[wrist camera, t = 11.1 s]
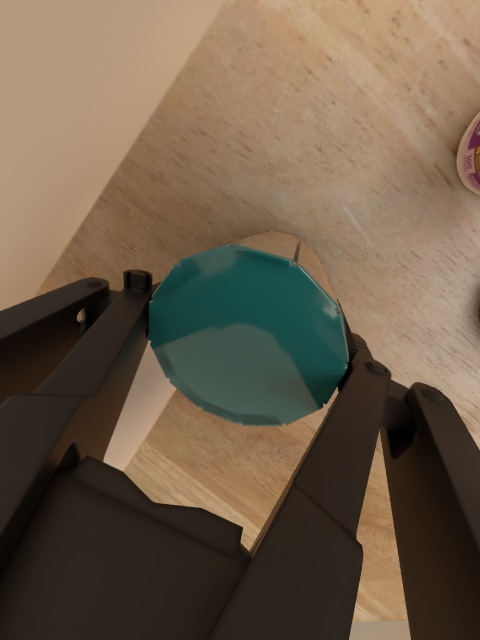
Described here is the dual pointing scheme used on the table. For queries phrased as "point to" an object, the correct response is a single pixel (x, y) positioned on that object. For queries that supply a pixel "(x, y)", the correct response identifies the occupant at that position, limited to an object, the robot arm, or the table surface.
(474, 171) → the pill bottle
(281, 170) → the table surface
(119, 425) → the drinking glass
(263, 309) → the teal fluted cylinder
